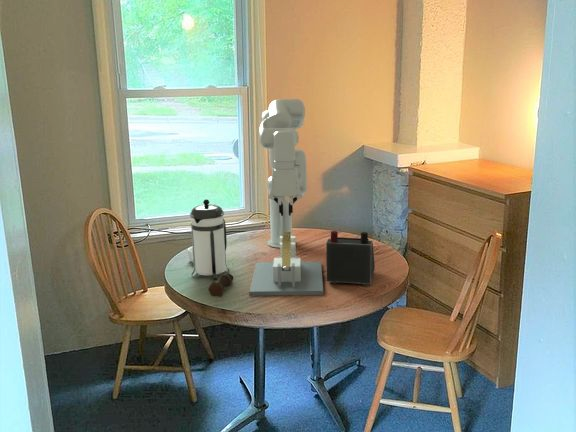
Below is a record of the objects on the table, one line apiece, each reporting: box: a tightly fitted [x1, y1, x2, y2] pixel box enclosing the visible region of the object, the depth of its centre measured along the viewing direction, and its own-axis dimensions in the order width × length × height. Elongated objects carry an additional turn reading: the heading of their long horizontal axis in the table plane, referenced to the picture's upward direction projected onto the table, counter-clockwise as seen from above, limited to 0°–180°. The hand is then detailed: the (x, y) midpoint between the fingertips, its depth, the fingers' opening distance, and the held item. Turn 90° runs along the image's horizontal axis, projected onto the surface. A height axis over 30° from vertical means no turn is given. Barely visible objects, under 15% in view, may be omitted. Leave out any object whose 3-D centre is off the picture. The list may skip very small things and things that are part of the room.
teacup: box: [187, 246, 194, 263], centre depth 244 cm, size 10×8×5 cm
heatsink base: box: [248, 257, 324, 297], centre depth 220 cm, size 31×26×10 cm
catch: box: [279, 235, 297, 258], centre depth 229 cm, size 6×6×11 cm
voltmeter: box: [325, 230, 376, 287], centre depth 218 cm, size 16×16×20 cm
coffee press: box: [189, 199, 230, 282], centre depth 225 cm, size 17×16×30 cm
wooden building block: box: [282, 232, 291, 271], centre depth 214 cm, size 15×3×11 cm, turn 178°
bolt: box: [207, 272, 234, 298], centre depth 213 cm, size 6×5×15 cm
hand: (286, 214), depth 215 cm, fingers closed
